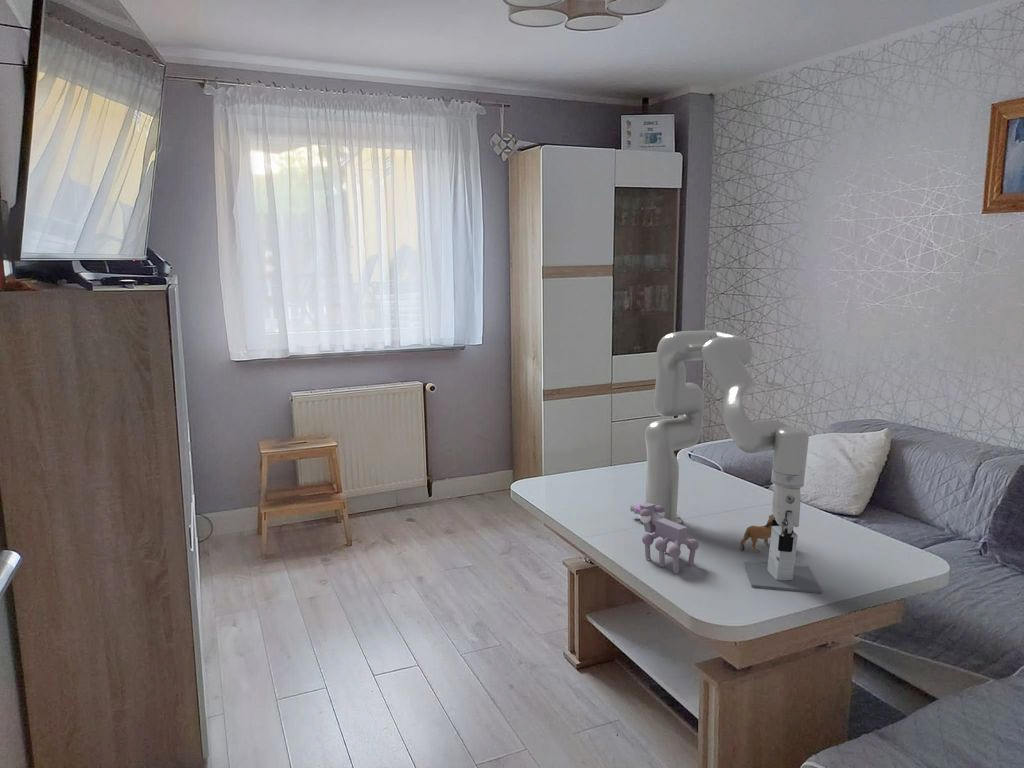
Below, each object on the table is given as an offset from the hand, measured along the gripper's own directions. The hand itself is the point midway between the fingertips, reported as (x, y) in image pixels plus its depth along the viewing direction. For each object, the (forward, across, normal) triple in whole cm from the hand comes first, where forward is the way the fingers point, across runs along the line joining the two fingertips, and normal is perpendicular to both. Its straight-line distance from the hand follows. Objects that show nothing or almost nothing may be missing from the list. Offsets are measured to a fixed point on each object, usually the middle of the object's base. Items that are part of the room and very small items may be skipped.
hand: (781, 542), depth 174 cm
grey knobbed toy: (+10, +6, +29) cm, 31 cm away
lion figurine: (+10, +18, +1) cm, 21 cm away
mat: (+9, -1, -1) cm, 9 cm away
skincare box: (+8, -1, 0) cm, 9 cm away
